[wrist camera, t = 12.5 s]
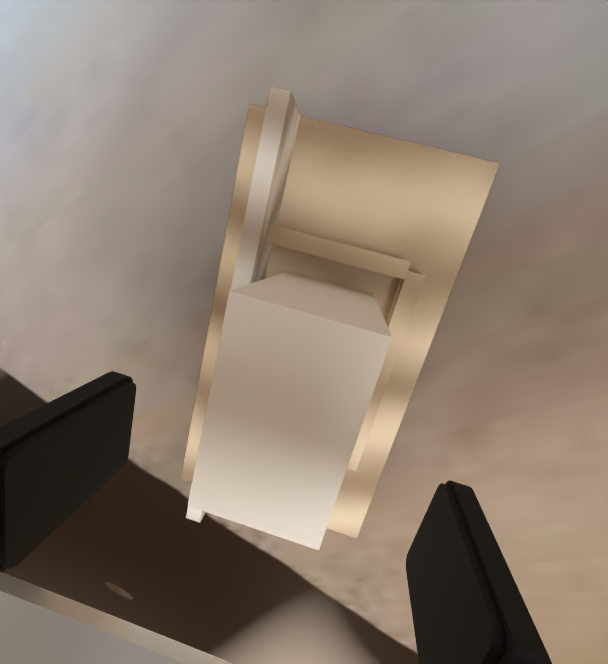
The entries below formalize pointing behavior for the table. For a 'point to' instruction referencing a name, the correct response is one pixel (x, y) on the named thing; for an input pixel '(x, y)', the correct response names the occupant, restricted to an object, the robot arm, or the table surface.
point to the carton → (287, 403)
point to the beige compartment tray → (348, 253)
